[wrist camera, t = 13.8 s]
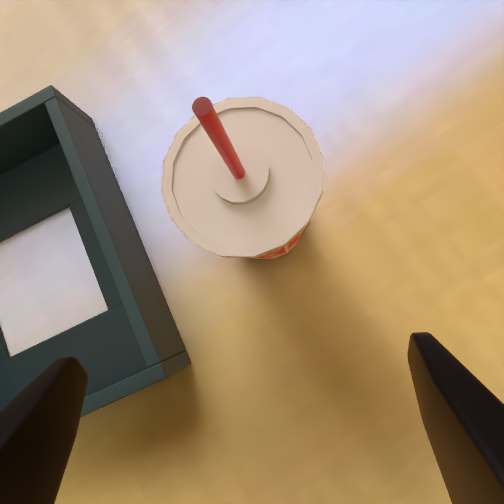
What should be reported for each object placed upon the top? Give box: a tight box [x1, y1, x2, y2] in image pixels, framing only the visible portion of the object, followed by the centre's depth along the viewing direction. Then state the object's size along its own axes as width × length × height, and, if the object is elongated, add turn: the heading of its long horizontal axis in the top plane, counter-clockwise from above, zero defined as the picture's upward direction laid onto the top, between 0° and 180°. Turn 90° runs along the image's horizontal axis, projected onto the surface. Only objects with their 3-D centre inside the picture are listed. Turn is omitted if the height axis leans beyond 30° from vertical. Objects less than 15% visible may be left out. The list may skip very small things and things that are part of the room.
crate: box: [0, 85, 191, 417], centre depth 22 cm, size 18×15×4 cm
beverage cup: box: [161, 97, 323, 259], centre depth 15 cm, size 6×6×14 cm
